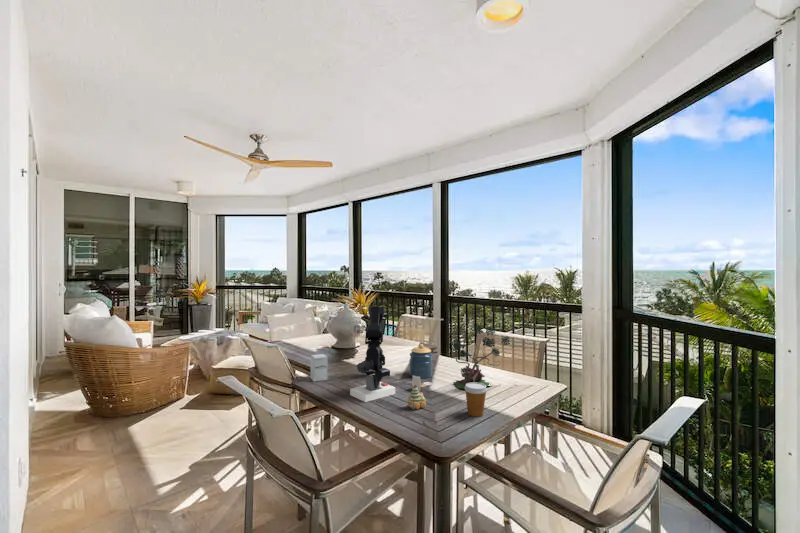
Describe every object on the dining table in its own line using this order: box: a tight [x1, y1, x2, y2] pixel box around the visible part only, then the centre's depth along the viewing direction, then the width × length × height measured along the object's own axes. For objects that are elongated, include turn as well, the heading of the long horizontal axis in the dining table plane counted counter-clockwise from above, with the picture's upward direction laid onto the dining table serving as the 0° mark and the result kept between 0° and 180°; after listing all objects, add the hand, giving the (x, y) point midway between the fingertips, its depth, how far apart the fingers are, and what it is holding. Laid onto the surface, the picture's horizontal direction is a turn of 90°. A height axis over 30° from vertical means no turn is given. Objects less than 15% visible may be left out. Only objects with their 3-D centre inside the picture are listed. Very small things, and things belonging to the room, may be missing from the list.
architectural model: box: [411, 376, 427, 392], centre depth 194 cm, size 3×7×7 cm, turn 41°
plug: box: [365, 374, 380, 391], centre depth 187 cm, size 5×4×7 cm
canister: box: [408, 343, 434, 379], centre depth 219 cm, size 13×13×18 cm
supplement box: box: [310, 353, 329, 382], centre depth 209 cm, size 7×7×13 cm
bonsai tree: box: [452, 325, 511, 390], centre depth 201 cm, size 35×24×32 cm
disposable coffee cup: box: [463, 382, 488, 417], centre depth 165 cm, size 10×10×12 cm
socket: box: [349, 381, 396, 403], centre depth 187 cm, size 18×12×4 cm, turn 132°
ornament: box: [406, 385, 427, 410], centre depth 171 cm, size 8×6×10 cm
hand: (373, 387), depth 187 cm, fingers closed on plug, 4 cm apart
